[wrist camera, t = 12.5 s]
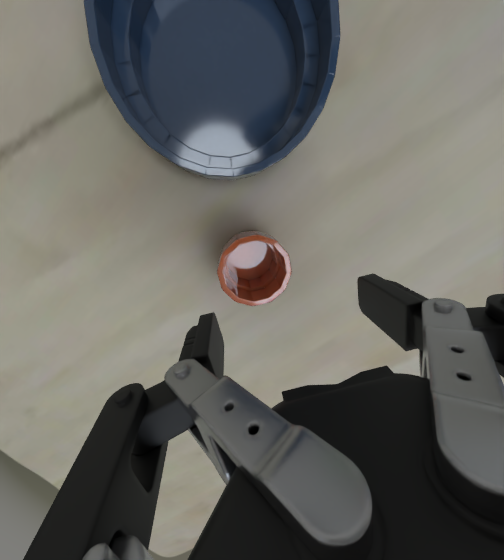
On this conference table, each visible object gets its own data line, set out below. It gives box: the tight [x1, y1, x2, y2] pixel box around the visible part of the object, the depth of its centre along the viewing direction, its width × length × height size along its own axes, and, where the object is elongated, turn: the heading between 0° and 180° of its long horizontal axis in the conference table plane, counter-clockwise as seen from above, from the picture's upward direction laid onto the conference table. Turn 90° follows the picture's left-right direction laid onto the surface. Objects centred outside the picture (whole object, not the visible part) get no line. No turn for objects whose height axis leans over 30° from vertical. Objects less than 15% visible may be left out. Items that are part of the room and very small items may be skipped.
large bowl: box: [84, 0, 340, 180], centre depth 17 cm, size 16×16×5 cm
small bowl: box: [217, 231, 292, 306], centre depth 23 cm, size 6×6×6 cm
